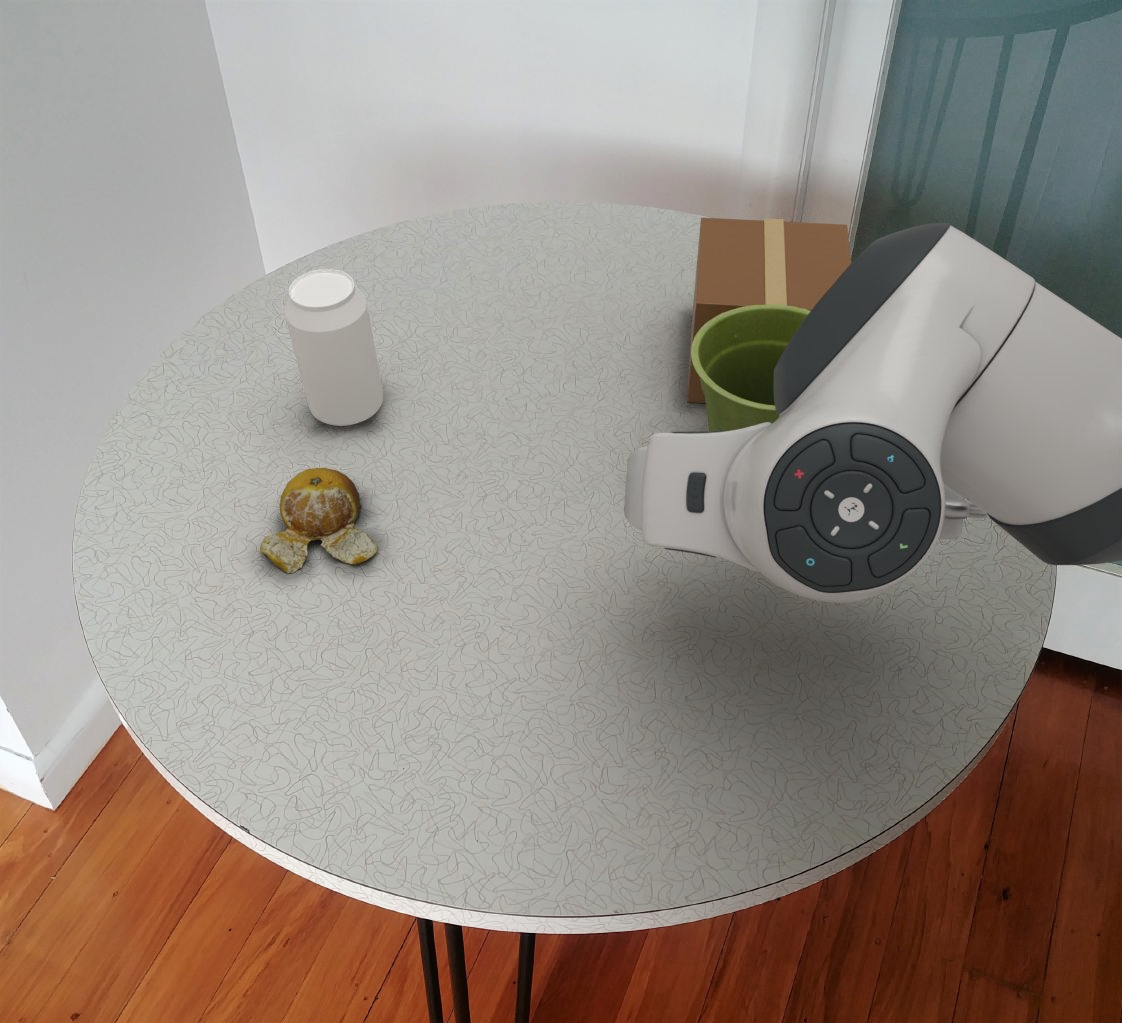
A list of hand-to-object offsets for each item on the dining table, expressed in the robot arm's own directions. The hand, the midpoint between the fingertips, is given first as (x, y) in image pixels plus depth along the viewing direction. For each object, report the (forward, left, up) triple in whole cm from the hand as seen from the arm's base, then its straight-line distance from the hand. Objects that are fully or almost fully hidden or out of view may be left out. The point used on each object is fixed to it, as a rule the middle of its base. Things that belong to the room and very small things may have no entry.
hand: (777, 494), depth 72 cm
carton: (+14, -17, -6) cm, 23 cm away
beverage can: (+34, +12, -7) cm, 37 cm away
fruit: (+24, +22, -7) cm, 34 cm away
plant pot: (+6, -7, -7) cm, 11 cm away
